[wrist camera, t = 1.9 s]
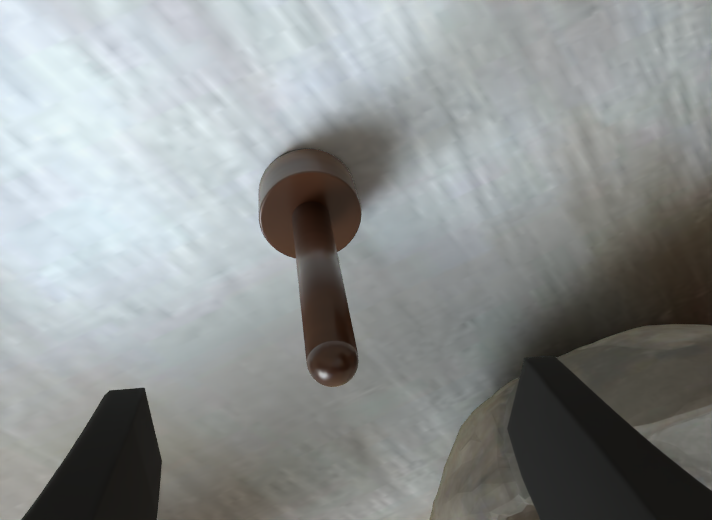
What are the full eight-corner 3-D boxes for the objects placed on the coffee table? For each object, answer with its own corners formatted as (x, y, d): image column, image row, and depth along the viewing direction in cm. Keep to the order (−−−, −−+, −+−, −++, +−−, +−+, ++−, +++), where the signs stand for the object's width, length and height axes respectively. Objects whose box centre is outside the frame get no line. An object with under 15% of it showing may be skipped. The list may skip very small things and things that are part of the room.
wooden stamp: (353, 231, 20) (402, 422, 14) (261, 235, 20) (265, 435, 13) (355, 146, 18) (413, 317, 12) (255, 149, 18) (256, 328, 11)
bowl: (881, 312, 26) (1095, 471, 19) (617, 546, 34) (704, 714, 27) (554, 161, 19) (705, 322, 13) (324, 492, 28) (345, 696, 21)
